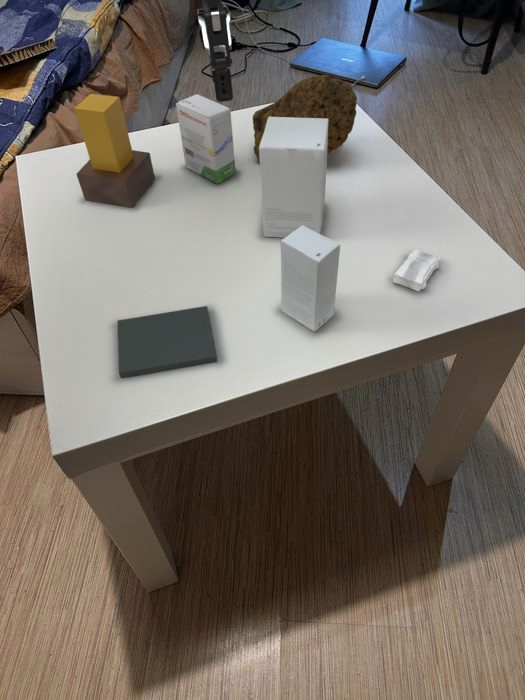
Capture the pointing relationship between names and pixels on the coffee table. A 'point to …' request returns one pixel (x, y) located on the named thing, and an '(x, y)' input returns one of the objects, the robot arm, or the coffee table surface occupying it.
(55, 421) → the coffee table surface
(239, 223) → the coffee table surface
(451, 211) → the coffee table surface
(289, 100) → the rock
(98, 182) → the walnut block
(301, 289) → the cosmetic box
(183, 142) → the ink box
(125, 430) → the coffee table surface
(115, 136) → the mustard block
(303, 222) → the rectangular carton
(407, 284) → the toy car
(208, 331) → the rubber mat
